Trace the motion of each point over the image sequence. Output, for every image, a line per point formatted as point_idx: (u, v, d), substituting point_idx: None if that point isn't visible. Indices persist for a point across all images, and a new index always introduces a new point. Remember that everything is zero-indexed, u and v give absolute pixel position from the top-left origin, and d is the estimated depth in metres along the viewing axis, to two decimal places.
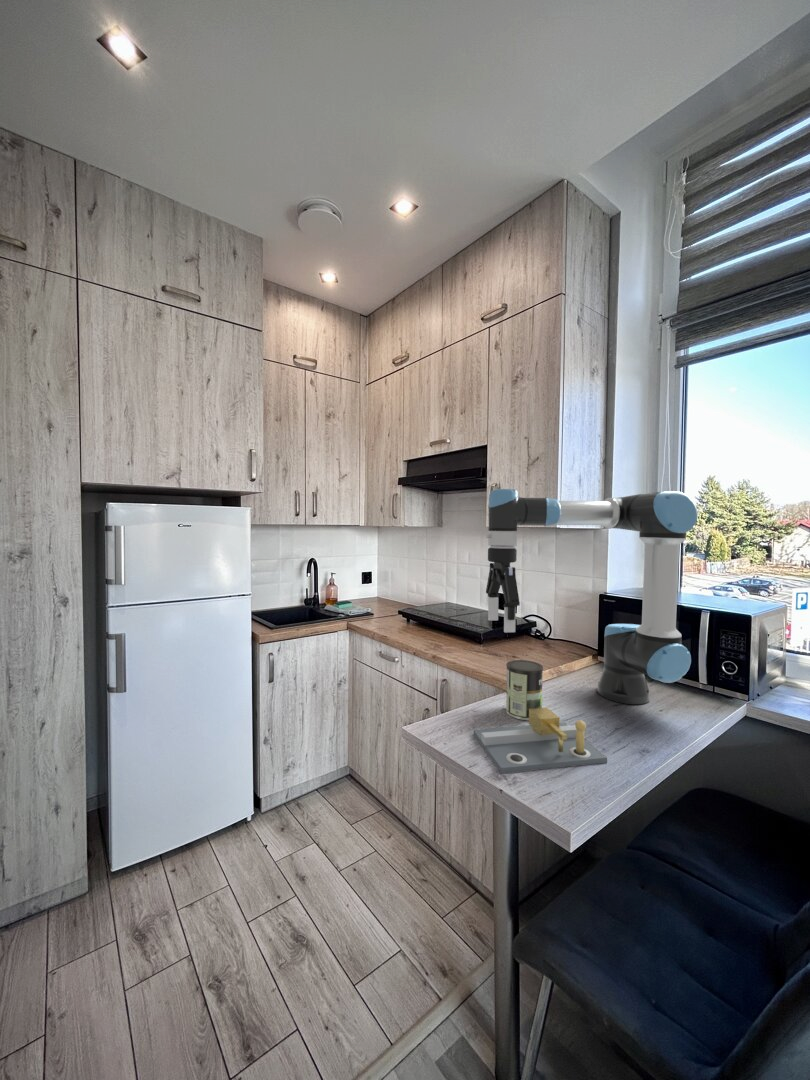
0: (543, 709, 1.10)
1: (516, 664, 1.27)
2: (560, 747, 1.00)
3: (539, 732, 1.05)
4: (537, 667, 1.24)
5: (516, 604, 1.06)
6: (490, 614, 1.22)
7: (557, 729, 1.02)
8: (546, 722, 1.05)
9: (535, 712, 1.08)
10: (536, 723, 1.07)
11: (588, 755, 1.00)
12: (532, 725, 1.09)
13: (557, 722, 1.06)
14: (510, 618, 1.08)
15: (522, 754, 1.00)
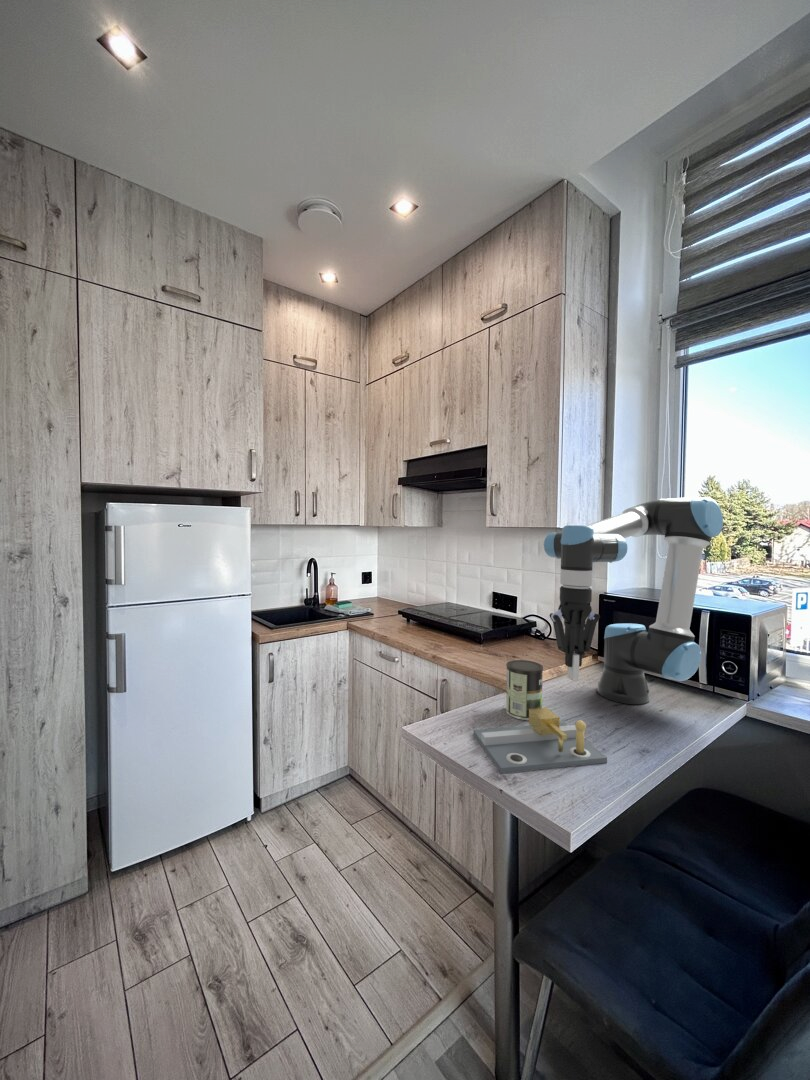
0: (543, 709, 1.10)
1: (516, 664, 1.27)
2: (560, 747, 1.00)
3: (539, 732, 1.05)
4: (537, 667, 1.24)
5: (561, 650, 1.08)
6: None
7: (557, 729, 1.02)
8: (546, 722, 1.05)
9: (535, 712, 1.08)
10: (536, 723, 1.07)
11: (588, 755, 1.00)
12: (532, 725, 1.09)
13: (557, 722, 1.06)
14: (565, 664, 1.09)
15: (522, 754, 1.00)
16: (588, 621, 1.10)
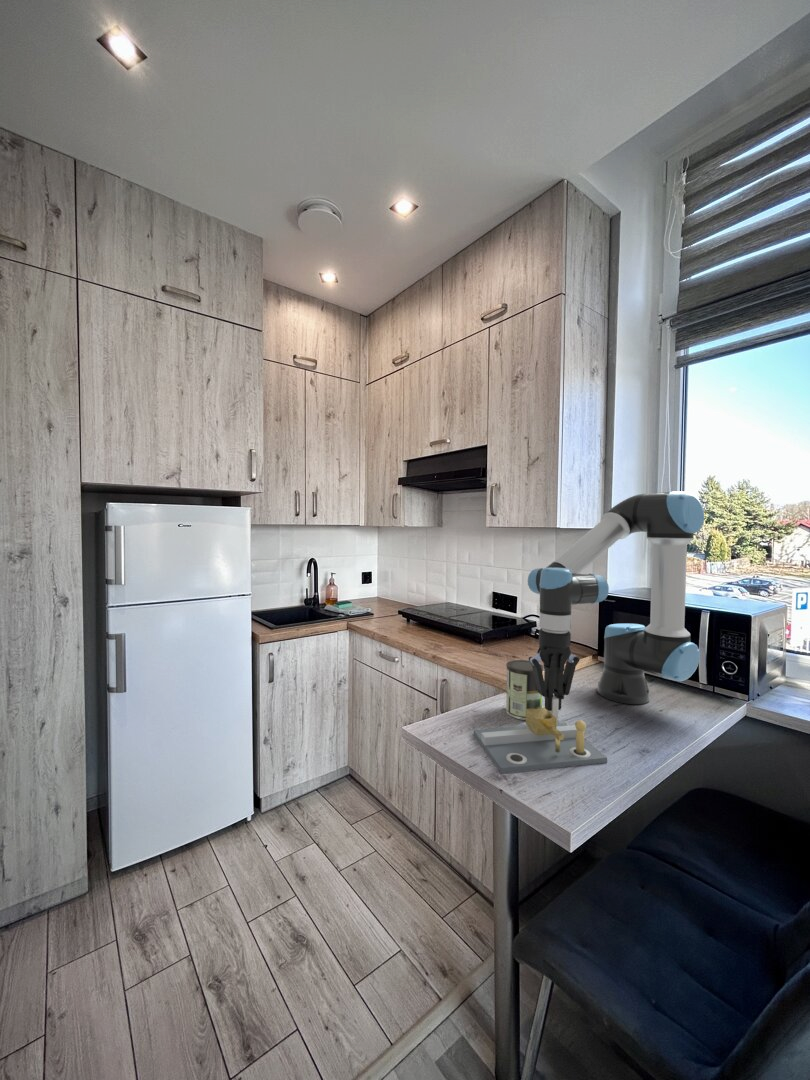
0: (540, 709, 1.10)
1: (516, 664, 1.27)
2: (557, 747, 1.00)
3: (536, 732, 1.05)
4: None
5: (541, 694, 1.07)
6: None
7: (554, 729, 1.01)
8: (543, 722, 1.05)
9: (532, 712, 1.08)
10: (533, 724, 1.07)
11: (588, 755, 1.00)
12: (529, 725, 1.09)
13: (554, 722, 1.05)
14: (545, 707, 1.08)
15: (522, 754, 1.00)
16: (568, 664, 1.09)
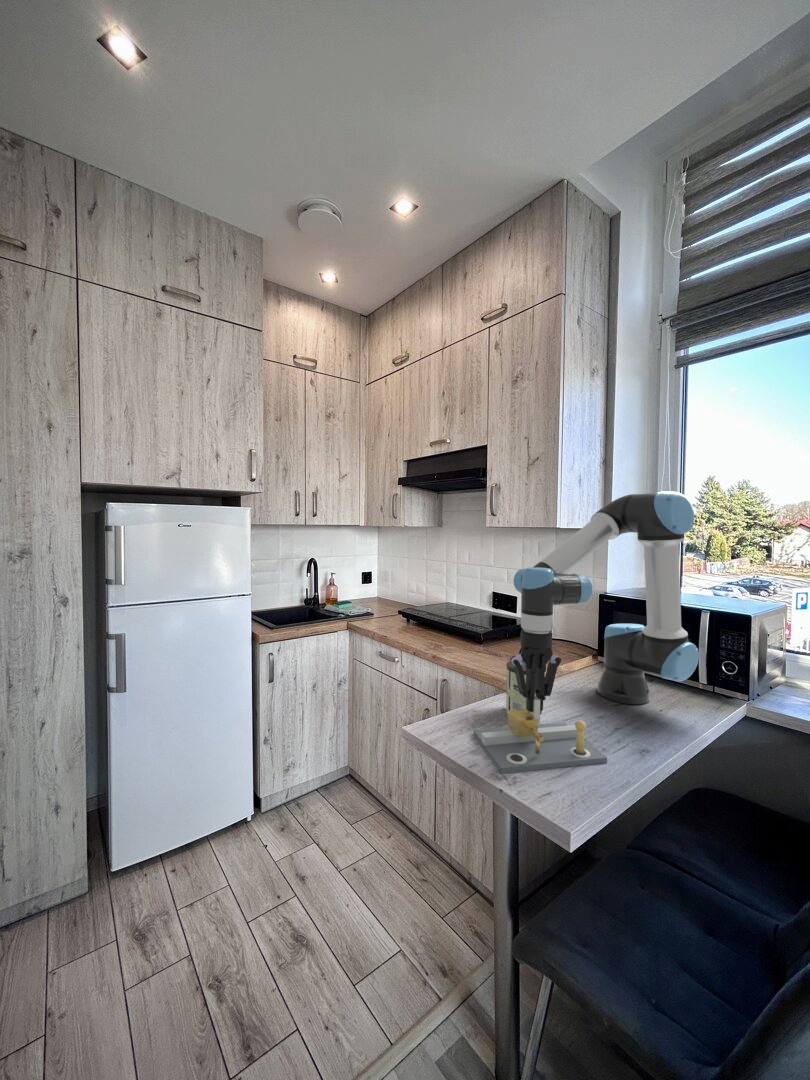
0: (522, 711, 1.09)
1: None
2: (537, 749, 0.99)
3: (517, 734, 1.04)
4: None
5: (522, 695, 1.06)
6: None
7: (534, 731, 1.01)
8: (524, 724, 1.04)
9: (513, 714, 1.07)
10: (514, 725, 1.06)
11: (588, 755, 1.00)
12: (511, 727, 1.08)
13: (535, 724, 1.04)
14: (527, 708, 1.08)
15: (522, 754, 1.00)
16: (550, 664, 1.08)
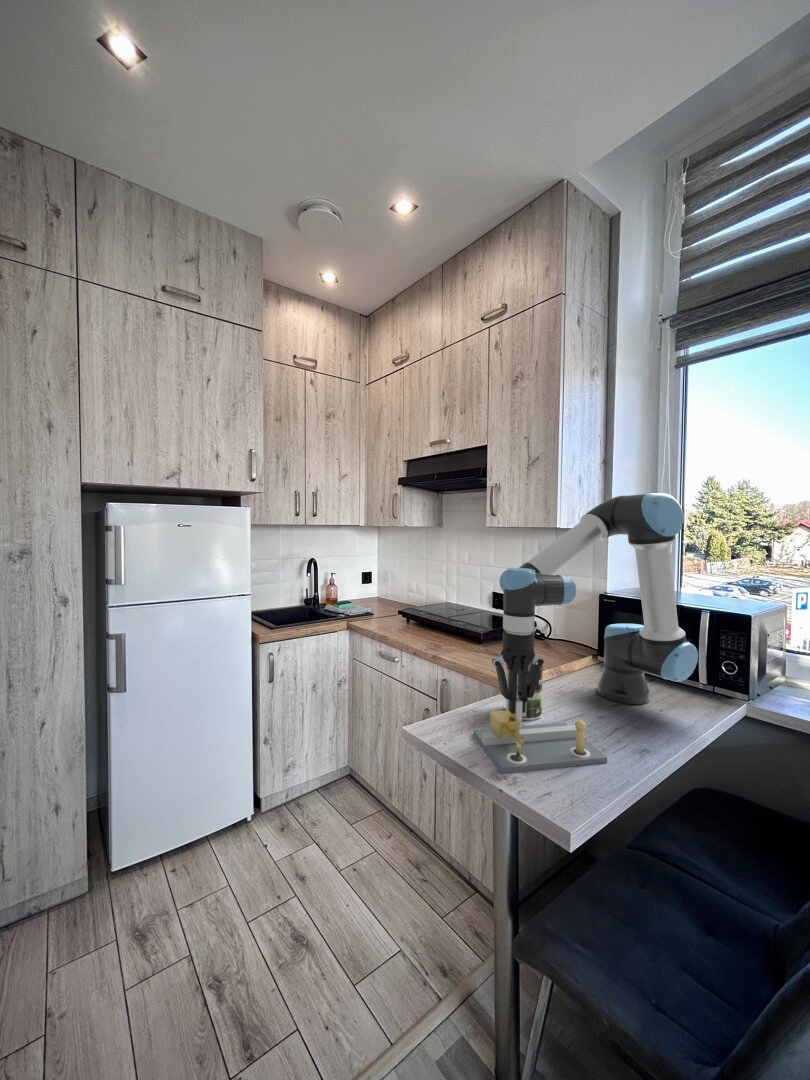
0: (504, 712, 1.08)
1: None
2: (518, 751, 0.98)
3: (498, 735, 1.03)
4: None
5: (504, 696, 1.05)
6: None
7: (515, 733, 1.00)
8: (506, 725, 1.03)
9: (496, 715, 1.06)
10: (496, 727, 1.05)
11: (588, 755, 1.00)
12: (493, 728, 1.07)
13: (517, 725, 1.04)
14: (509, 710, 1.07)
15: (522, 754, 1.00)
16: (532, 666, 1.07)
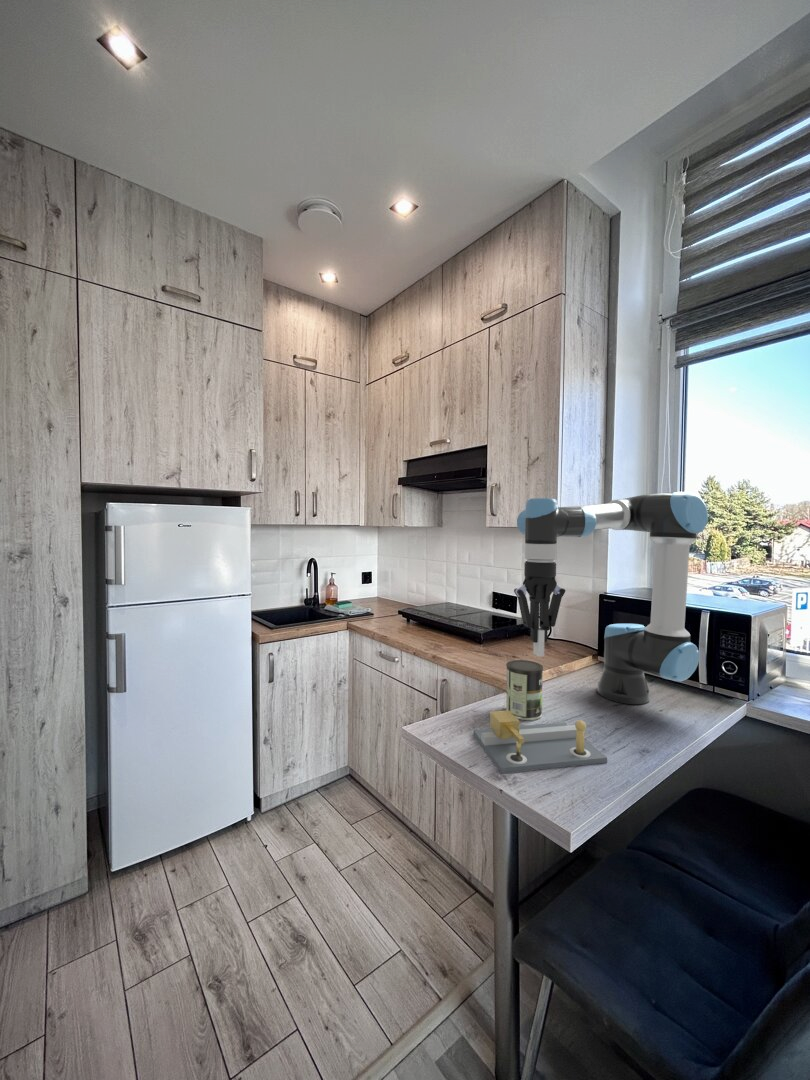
0: (504, 712, 1.08)
1: (516, 664, 1.27)
2: (518, 751, 0.98)
3: (498, 735, 1.03)
4: (537, 667, 1.24)
5: (526, 625, 1.06)
6: None
7: (515, 733, 1.00)
8: (506, 725, 1.03)
9: (496, 715, 1.06)
10: (496, 727, 1.05)
11: (588, 755, 1.00)
12: (493, 728, 1.07)
13: (517, 725, 1.04)
14: (531, 639, 1.07)
15: (522, 754, 1.00)
16: (554, 596, 1.08)
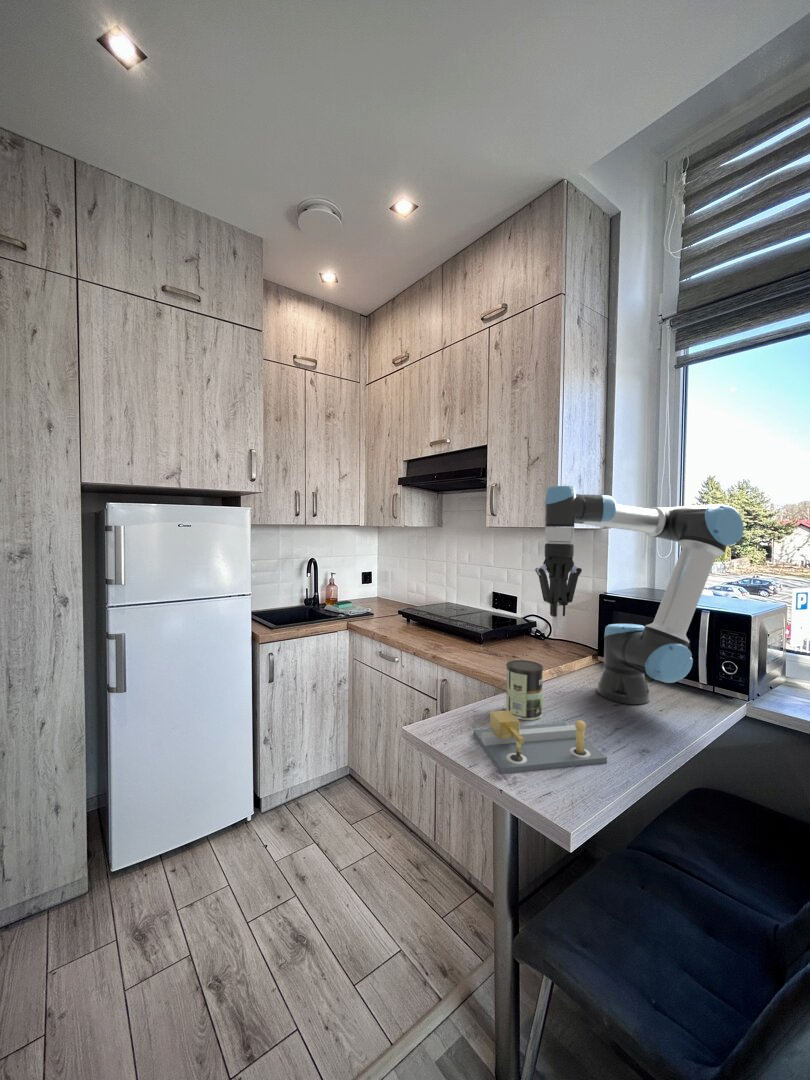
0: (504, 712, 1.08)
1: (516, 664, 1.27)
2: (518, 751, 0.98)
3: (498, 735, 1.03)
4: (537, 667, 1.24)
5: (546, 601, 1.18)
6: None
7: (515, 733, 1.00)
8: (506, 725, 1.03)
9: (496, 715, 1.06)
10: (496, 727, 1.05)
11: (588, 755, 1.00)
12: (493, 728, 1.07)
13: (517, 725, 1.04)
14: (550, 614, 1.19)
15: (522, 754, 1.00)
16: (571, 575, 1.20)
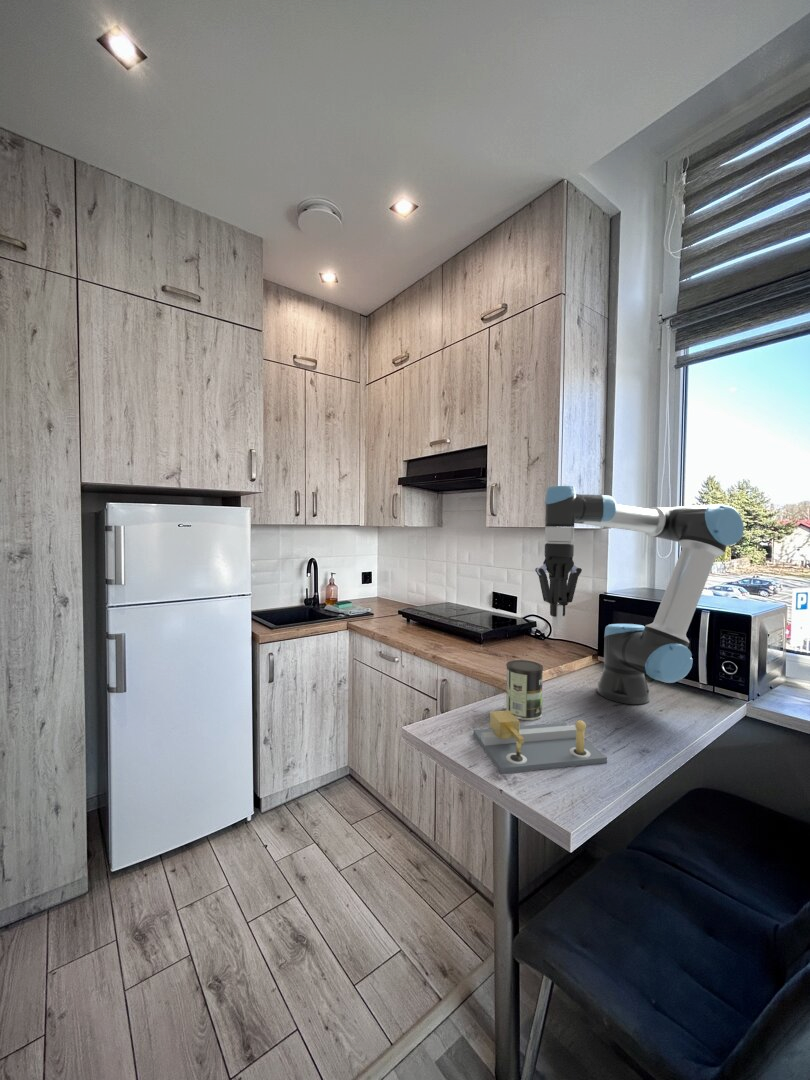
0: (504, 712, 1.08)
1: (516, 664, 1.27)
2: (518, 751, 0.98)
3: (498, 735, 1.03)
4: (537, 667, 1.24)
5: (546, 601, 1.18)
6: None
7: (515, 733, 1.00)
8: (506, 725, 1.03)
9: (496, 715, 1.06)
10: (496, 727, 1.05)
11: (588, 755, 1.00)
12: (493, 728, 1.07)
13: (517, 725, 1.04)
14: (550, 614, 1.19)
15: (522, 754, 1.00)
16: (571, 575, 1.20)
